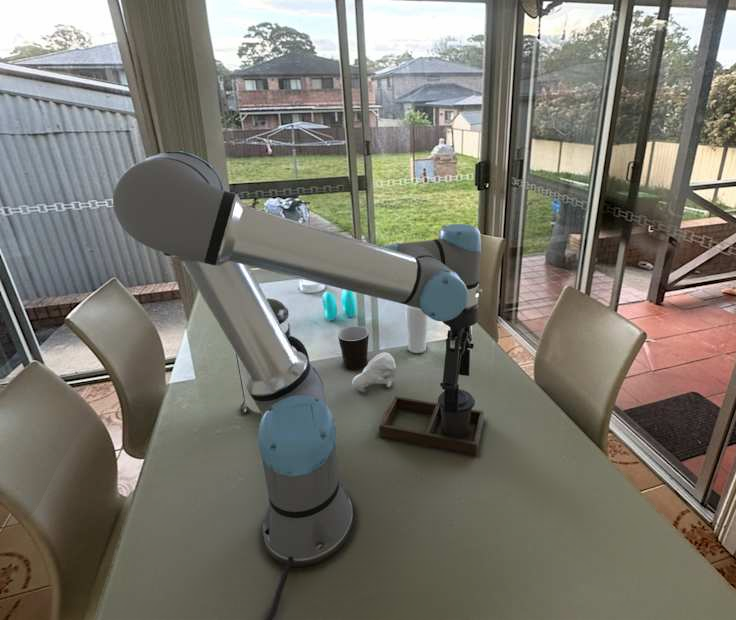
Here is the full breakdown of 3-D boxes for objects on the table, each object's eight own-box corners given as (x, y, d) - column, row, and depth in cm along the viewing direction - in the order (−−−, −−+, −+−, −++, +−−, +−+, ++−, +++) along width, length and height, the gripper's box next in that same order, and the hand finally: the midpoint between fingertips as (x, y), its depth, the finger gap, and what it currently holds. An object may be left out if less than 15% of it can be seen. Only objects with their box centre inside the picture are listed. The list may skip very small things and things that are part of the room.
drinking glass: (401, 352, 132) (400, 306, 127) (412, 342, 138) (412, 298, 132) (422, 357, 129) (421, 311, 124) (432, 346, 135) (432, 302, 129)
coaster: (297, 286, 181) (297, 278, 180) (321, 282, 185) (321, 274, 184) (302, 295, 173) (302, 286, 171) (327, 290, 176) (327, 282, 175)
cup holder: (476, 456, 93) (476, 444, 92) (379, 436, 98) (379, 425, 97) (483, 421, 103) (484, 411, 102) (395, 406, 108) (395, 395, 107)
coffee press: (237, 433, 100) (214, 314, 89) (243, 392, 114) (224, 285, 103) (315, 419, 104) (303, 304, 93) (311, 381, 118) (300, 277, 107)
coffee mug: (365, 374, 121) (363, 342, 118) (335, 370, 123) (333, 339, 119) (376, 352, 132) (375, 322, 128) (349, 349, 134) (347, 320, 130)
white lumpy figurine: (397, 356, 113) (355, 374, 108) (400, 383, 117) (360, 401, 111) (385, 345, 118) (344, 362, 113) (389, 371, 122) (349, 389, 116)
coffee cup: (433, 441, 97) (433, 404, 93) (441, 418, 104) (442, 382, 100) (469, 449, 94) (471, 411, 91) (476, 425, 102) (477, 388, 98)
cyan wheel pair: (357, 320, 152) (356, 294, 148) (328, 325, 148) (326, 298, 145) (350, 309, 160) (348, 283, 157) (323, 313, 157) (320, 288, 153)
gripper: (467, 334, 75) (464, 433, 83) (486, 281, 97) (482, 363, 105) (425, 329, 77) (426, 426, 85) (453, 278, 99) (452, 359, 107)
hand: (457, 391), depth 95 cm, fingers open, 13 cm apart
